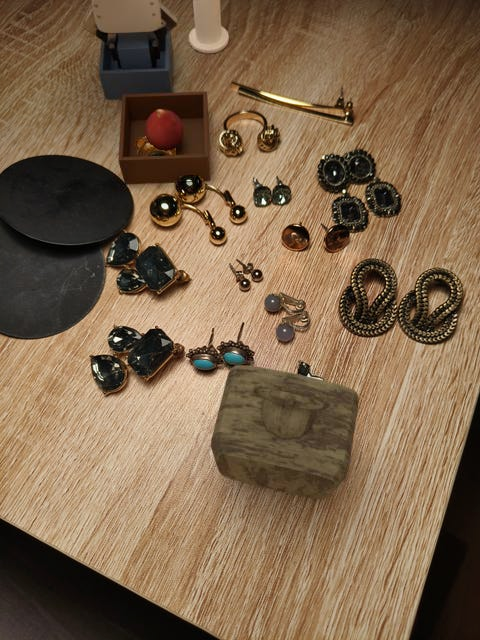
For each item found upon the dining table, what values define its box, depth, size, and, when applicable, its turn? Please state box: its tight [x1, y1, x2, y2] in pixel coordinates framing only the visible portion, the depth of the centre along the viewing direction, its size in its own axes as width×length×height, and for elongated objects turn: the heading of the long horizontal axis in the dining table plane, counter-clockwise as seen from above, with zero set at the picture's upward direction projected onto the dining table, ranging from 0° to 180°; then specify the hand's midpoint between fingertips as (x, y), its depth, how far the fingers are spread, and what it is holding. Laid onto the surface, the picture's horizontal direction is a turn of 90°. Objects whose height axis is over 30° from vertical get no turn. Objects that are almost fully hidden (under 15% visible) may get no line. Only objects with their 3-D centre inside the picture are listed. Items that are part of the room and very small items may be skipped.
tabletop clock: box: [210, 364, 360, 500], centre depth 62 cm, size 14×9×25 cm, turn 77°
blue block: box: [117, 32, 153, 70], centre depth 98 cm, size 5×5×5 cm
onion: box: [145, 109, 184, 151], centre depth 91 cm, size 6×6×8 cm
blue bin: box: [98, 31, 174, 101], centre depth 100 cm, size 11×11×6 cm
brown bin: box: [117, 91, 211, 185], centre depth 93 cm, size 13×13×6 cm
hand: (137, 61), depth 100 cm, fingers closed on blue block, 5 cm apart
